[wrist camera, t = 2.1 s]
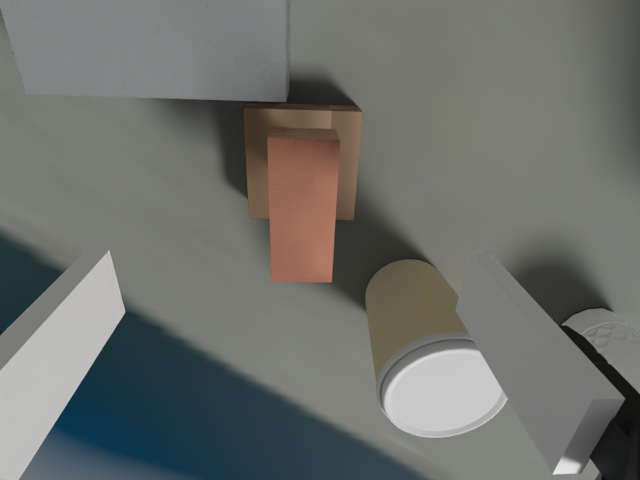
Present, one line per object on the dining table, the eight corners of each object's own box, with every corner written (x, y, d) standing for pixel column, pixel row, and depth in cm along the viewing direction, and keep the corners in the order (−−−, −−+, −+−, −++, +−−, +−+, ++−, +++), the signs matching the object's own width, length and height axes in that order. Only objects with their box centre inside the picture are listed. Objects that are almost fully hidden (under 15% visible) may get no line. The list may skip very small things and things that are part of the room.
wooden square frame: (357, 105, 28) (362, 112, 25) (349, 205, 32) (353, 220, 29) (248, 101, 28) (243, 108, 25) (253, 203, 31) (249, 218, 29)
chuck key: (326, 104, 28) (340, 140, 18) (322, 204, 32) (331, 282, 21) (280, 103, 28) (267, 138, 17) (281, 204, 31) (271, 281, 21)
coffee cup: (420, 341, 39) (464, 452, 29) (339, 313, 37) (354, 422, 26) (472, 271, 35) (545, 369, 25) (386, 236, 33) (426, 326, 23)
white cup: (595, 289, 37) (687, 367, 28) (639, 325, 39) (737, 406, 31) (532, 340, 40) (598, 425, 31) (577, 370, 42) (650, 457, 33)
